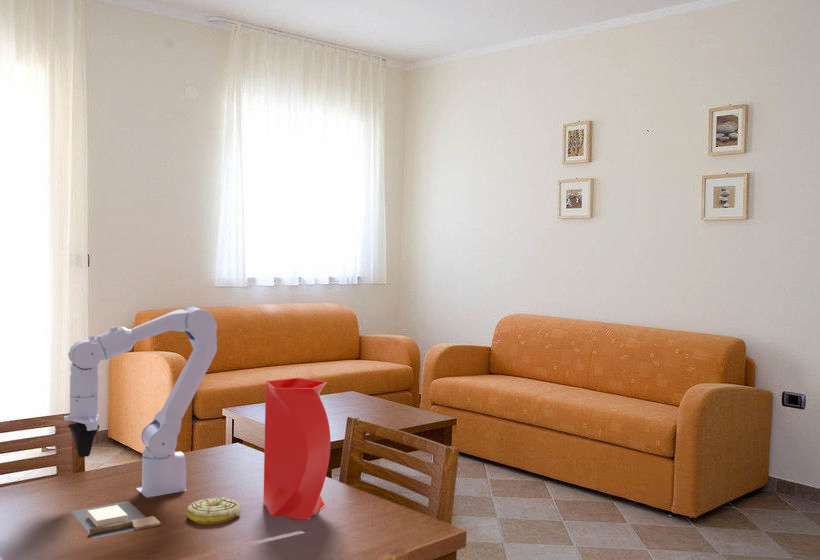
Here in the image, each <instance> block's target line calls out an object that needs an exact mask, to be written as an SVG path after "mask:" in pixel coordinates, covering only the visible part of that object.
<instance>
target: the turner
mask: <svg viewBox="0 0 820 560" xmlns="http://www.w3.org/2000/svg"><path fill="white" fill-rule="evenodd" d="M152 526H154V527H158V526H161V521H160V520H158V519H157V518H156V517H155V516H154V515H152V516H147V517H146V516H145V518H141V519H136V520H131V521H126V522H121V523H116V524H111V525H107V526H102V527H97V528H92V529H90V530H89V533H90V534H89V533H88V534H89V536H90V535H94V534H99V533H104V532H108V531H113V530H118V529H122V528H127V527H133V528H134V529H135V530H134V531H138V530H143V528H144V529H147V528H148V527H149V528H153V527H152ZM149 528H148V529H149Z"/></svg>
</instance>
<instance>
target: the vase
mask: <svg viewBox="0 0 820 560" xmlns="http://www.w3.org/2000/svg"><path fill="white" fill-rule="evenodd" d="M327 384H328V382H327V381H322V380H315V379H309V378H303V377H292V378H283V379H275V380H274V379H272V380H266V381H265V396H264V397H265V398H264V399H265V400H264V401H265V405H264V445H263V446H264V450H263V451H264V452H263V453H264V456H263V457H264V458H263V499H262V500H263V502H262V504H263V505H264V507H265V509H266V510H267V512H268V513H269V514H270V516H271V517H281V516H282V517H287V518H289V519H290V520H309V519H308V518H310V519H312V518H313V517H314V516H315V515H316V514H315V513H317V512H318V511H319V510H320V509H321V508H322V507H323V506H324V505H325V506H326V504H325V503H324V500H323V498H322V496H321V494H322V490H323V487H324V484H325V480H326V476H327V473H328V467H329V464H330V463H329V462H330V456H331V429H330V428H331V427H330V421H329V417H328V414H327V411H326V408H325V405H324V403H323V401H322V399H321V391H322V390H323V389H324V387H325V386H326V385H327ZM319 512H320V511H319ZM319 512H318V513H319ZM318 513H317V514H318ZM314 514H315V515H314ZM313 515H314V516H313ZM312 516H313V517H312ZM311 517H312V518H311ZM291 518H293V519H291ZM295 518H296V519H295ZM301 518H302V519H301Z"/></svg>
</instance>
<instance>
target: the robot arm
mask: <svg viewBox="0 0 820 560" xmlns="http://www.w3.org/2000/svg"><path fill="white" fill-rule="evenodd" d="M217 329H218V324H217V322H216V319H215V318H214V316H213V314H212V313H211V312H210V311H209V310H207V309H202V308H199V307H197V306H187V307H185V308H183V309H181V308H180V309H176V310H173V311H169V312H168V313H165V314H163V315H161V316H158V317H156V318H154V319H151V320H149V321H145V322H144V323H141V324H139V325H136V326H135V327H132V328H127V327H125V326H119V327H117V325H115V326H114V325H113V326H111V327H110V330H108V331H105V332H103V333H101V334H98V335H94V334H91V335H89V336H88V339H87V340H86V339H81V340H78V341H76V342H74V343H73V345H72V346H71V347H70V349H69V352H68V358H69V361H70V362H72V363H71V365H70V375H69V377H70V378H69V415H64V416H63V420H64V421H66V422H67V421H71V422H75V423H70V424H68V428H69V430H70V432H71V434H72V436H73V437H72V438H73V441H74V444H75V445H74V446H75V449H76V454H77V457H78V458H85V457H90V454H91V451H92V447H93V443H94V440H95V437H96V435H97V433H98V431H99V429H100V425H99V424H98V423H99V418H100V413H99V373H98V371H99V369H98V368H99V366H98V365H99V363H100V362H101V361H107V360H109V359H112V358H113V357H116V356H120V355H122V354H124V353H127V352H129V351H131V350H132V349H133V347H134V346H135V344H136V343H137V342H140V341H142V340H143V341H144V340H145V339H146V340H147V339H148V338H152V337H154V336H158V335H161V334H163V333H165V332H168V331H174V332H181V333H185V335H187V337H188V340H189V342H190V344H191V347H192V351H191V353H190V355H189V357H188V359H187V361H186V363H185V364H184V367H183V369H181V372H180V374H179V376H178V378H177V380H176V381H175V383H174V386H173V387H172V389H171V391H170V393H169V394H168V397H167V398H166V401H165V402H164V404H163V407H162V408H161V410H159V412H157V413H156V414H155V415H154V417H153V419H152V421H150V422H149V423H148V424H147V425H146V426H145V427H144V428H143V430H142V431H141V435H140V436H141V437H140V438H141V441H142V443H143V445H144V446H145V448H144V450H143V451H142V456H141V457H142V461H141V462H142V466H141V468H142V469H141V472H142V473H141V487H136V488H135V489H136V490H137V491H138V492H139V493H141V494H142V496H144V497H145V498H153V497H158V496H162V495H163V496H164V495H168V494H173V493H181V492H186V491H187V460H186V456H185V454H184V453H183V451H179V450H178V451H176V448H177V445H178V436H179V434H180V432H181V429H182V427H181V426H182V419H183V418H184V416H185V413H186V412H187V410H188V408H189V406H190V404H191V402H192V400H193V399H194V397H195V395H196V393H197V390H198V389H199V387H200V385H201V384H202V381H203V379H204V377H205V375H206V373H207V372H208V369H209V368H210V366H211V364H212V362H213V360H214V358H215V356H216V354H217V351H218V341H217V338H218V337H217Z"/></svg>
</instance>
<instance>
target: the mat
mask: <svg viewBox="0 0 820 560" xmlns="http://www.w3.org/2000/svg"><path fill="white" fill-rule="evenodd" d="M115 505H118V506H119V507H120V508H121V509H122V510H123V511H124V512H125V513H126V514H127V515H128V521H131V520H136V519H141V518H145V517H146V516H145V515H144V514H143V513H142V512H141V511H140V510H139V509H138V508H137V507H136V506H135V505H133V504H132V503H131V502H130V501H129V500H127V501H121V502H120V501H119V502H113V503H110V504H108V503H107V504H103V505H99V506H98V505H97V506H92V507H87V508H82V509H80V508H79V509H76V510H70V513H71V514H72V515H73V516H74V517H75V519H76V520H77V521H78V523H80V525H81V526H82V528H84V530H85V531H86V532H87V534H88V535H89V536H90V537H91V538H92V539H93V540H94V539H99V538H104V537H105V538H106V537H109V536H113V535H119V534H124V533H129V532H133V531H136V530H135V529H134V528H133V527H127V528H122V529H118V530H113V531H108V532H104V533H99V534H94V535H90V533H89V530H90V529H92V528H97V526H96V525H95V524H94V523H93V522H92V521H91V520H90V518H89V517H88V510H93V509H99V508H104V507H110V506H115ZM125 522H126V521H125ZM153 527H155V526H152V527H151V528H153ZM149 528H150V527H148V529H149ZM143 529H144V530H145V528H143ZM143 529H142V530H143Z"/></svg>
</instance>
